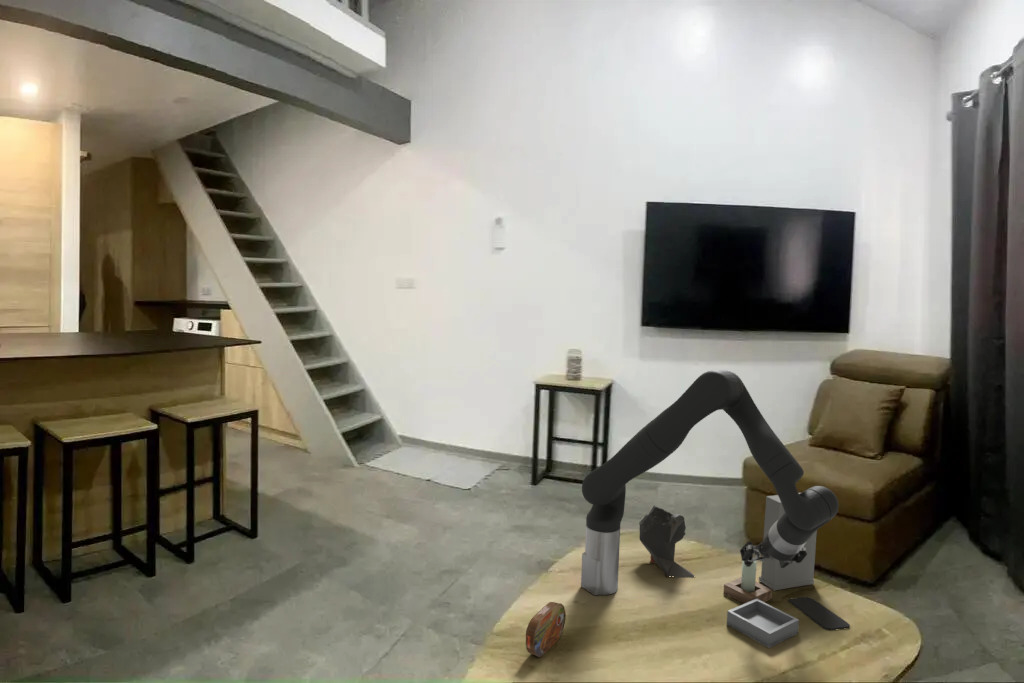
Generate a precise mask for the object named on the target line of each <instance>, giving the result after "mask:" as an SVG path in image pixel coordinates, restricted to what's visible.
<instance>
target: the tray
mask: <svg viewBox="0 0 1024 683" xmlns="http://www.w3.org/2000/svg"><path fill="white" fill-rule="evenodd" d="M726 612H727V613H726V625H727V626H729V627H730V628H732V629H734V630H736V631H738V632H739V633H741V634H743V635H744V636H746V637H748V638H750V639H752V640H753V641H755V642H757V643H759V644H760V645H763V646H764V647H766V648H768V649H771V648H772V647H775V646H777V645H778V644H781V643H782V642H785V641H787V640H788V639H790V638H792V637H794V636H797V635H798V634H799V628H800V626H799V625H800V619H798V618H796V617H794V616H793V615H790V614H788V613H786V612H784V611H783V610H781V609H779V608H776V607H774V606H772V605H771V604H768V603H766V602H762V601H760V600H758V599H754V600H752V601H750V602H747V603H745V604H744V603H742V604H741V605H738V606H736V607H733V608H731V609H728V610H727V611H726Z"/></svg>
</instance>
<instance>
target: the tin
mask: <svg viewBox="0 0 1024 683" xmlns="http://www.w3.org/2000/svg"><path fill="white" fill-rule="evenodd" d="M566 616H567V615H566V609H565V606H564V604H563V603H558V602H556V601H555V602H554V601H549V602H548V603H546V604H545V605H544V607H542V608H541V609H540V610H539V611H538V612H537V613H536V614H535V615H534V616H532V618H531V619H530V620H529V622H528V625H527V627H526V631H525V648H526V651H527V653H529V654H531V655H534V656H535V657H538V658H541V657H543V656H544V655H545V654H546V653H547V652H548V651H549V650H550V649H551V648H553V646H554V645H555V644H556V642H558V641H559V640H560V638H561V636H562V634H563V632H564V629H565V625H566Z"/></svg>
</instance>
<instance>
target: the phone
mask: <svg viewBox="0 0 1024 683" xmlns="http://www.w3.org/2000/svg"><path fill="white" fill-rule="evenodd" d="M787 602H788V603H789V604H791V606H793V607H795V608H796V609H798V610H799V611H800V612H802V614H804V615H805V616H806V617H807V618H809V619H810V620H811V621H812V622H814V623H815V624H817V625H818V626H819V627H820V628H822V630H823V629H824V630H826V631H837V630H836V629H840V630H845V629H844V628H848V629H850V628H849V627H851V625H850V624H849V623H848V621H846V620H844V619H843V618H841V617H840V616H838V615H837V614H835V613H834V612H833V611H832V610H830V609H828V608H827V607H825V606H824V605H822V604H821V602H818V601H817V600H816V599H814V598H813V597H810V596H802V597H799V596H798V597H791V598H790V597H789V598H788V599H787Z"/></svg>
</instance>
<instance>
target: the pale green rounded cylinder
mask: <svg viewBox="0 0 1024 683" xmlns="http://www.w3.org/2000/svg"><path fill="white" fill-rule="evenodd" d="M757 561H758V560H757ZM757 561H753V563H752V564H751V566H750V567H747V566H746V565H745V564H744V561H742V564H741V565H742V566H741V577H742V578H741V577H740V578H741V589H743V590H745V591H747V592H749V593H751V592H754V591H755V582H756V577H757V576H756V575H757Z"/></svg>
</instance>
